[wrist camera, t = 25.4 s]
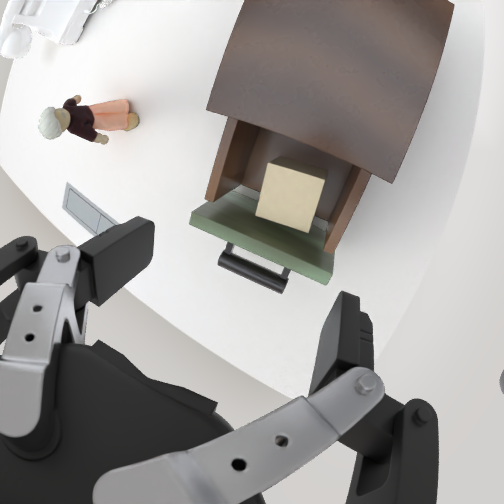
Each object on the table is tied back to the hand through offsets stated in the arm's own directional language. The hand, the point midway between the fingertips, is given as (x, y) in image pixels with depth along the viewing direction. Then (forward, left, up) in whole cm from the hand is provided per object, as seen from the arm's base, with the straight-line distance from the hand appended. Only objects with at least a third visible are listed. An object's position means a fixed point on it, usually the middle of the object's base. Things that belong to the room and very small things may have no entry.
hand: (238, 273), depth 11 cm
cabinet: (0, -12, -19) cm, 22 cm away
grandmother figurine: (+23, -3, -19) cm, 30 cm away
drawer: (+1, 0, -18) cm, 18 cm away
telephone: (+38, -23, -19) cm, 48 cm away
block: (0, 0, -17) cm, 17 cm away
